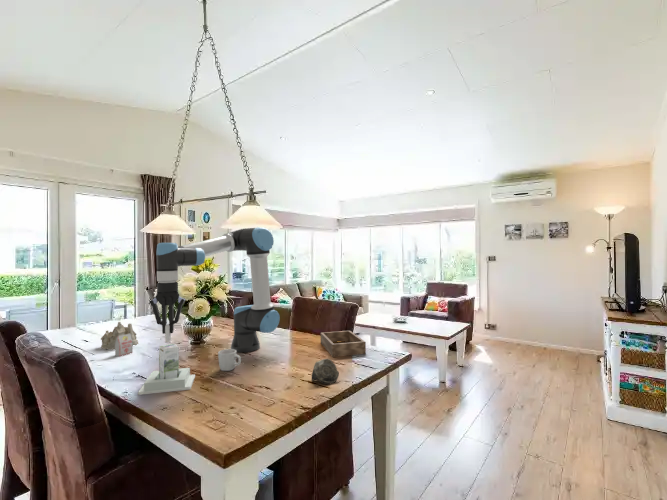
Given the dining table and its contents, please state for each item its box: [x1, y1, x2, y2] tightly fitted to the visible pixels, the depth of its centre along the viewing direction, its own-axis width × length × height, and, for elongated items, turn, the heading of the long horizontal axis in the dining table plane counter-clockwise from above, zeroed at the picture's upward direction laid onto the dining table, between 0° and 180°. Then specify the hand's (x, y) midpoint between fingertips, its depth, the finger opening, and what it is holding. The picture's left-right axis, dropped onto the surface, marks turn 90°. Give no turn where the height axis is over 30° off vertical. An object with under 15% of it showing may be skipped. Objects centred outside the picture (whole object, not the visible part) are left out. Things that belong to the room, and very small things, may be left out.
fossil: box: [311, 358, 340, 385], centre depth 141 cm, size 11×9×10 cm
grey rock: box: [100, 321, 139, 351], centre depth 197 cm, size 16×16×15 cm
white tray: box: [137, 367, 196, 396], centre depth 137 cm, size 18×14×4 cm
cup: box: [217, 348, 242, 372], centre depth 155 cm, size 11×8×8 cm
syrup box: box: [158, 343, 180, 379], centre depth 137 cm, size 6×6×14 cm
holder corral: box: [320, 330, 367, 358], centre depth 187 cm, size 17×26×6 cm, turn 15°
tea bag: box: [114, 334, 134, 357], centre depth 181 cm, size 4×7×10 cm, turn 152°
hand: (168, 341), depth 137 cm, fingers closed
